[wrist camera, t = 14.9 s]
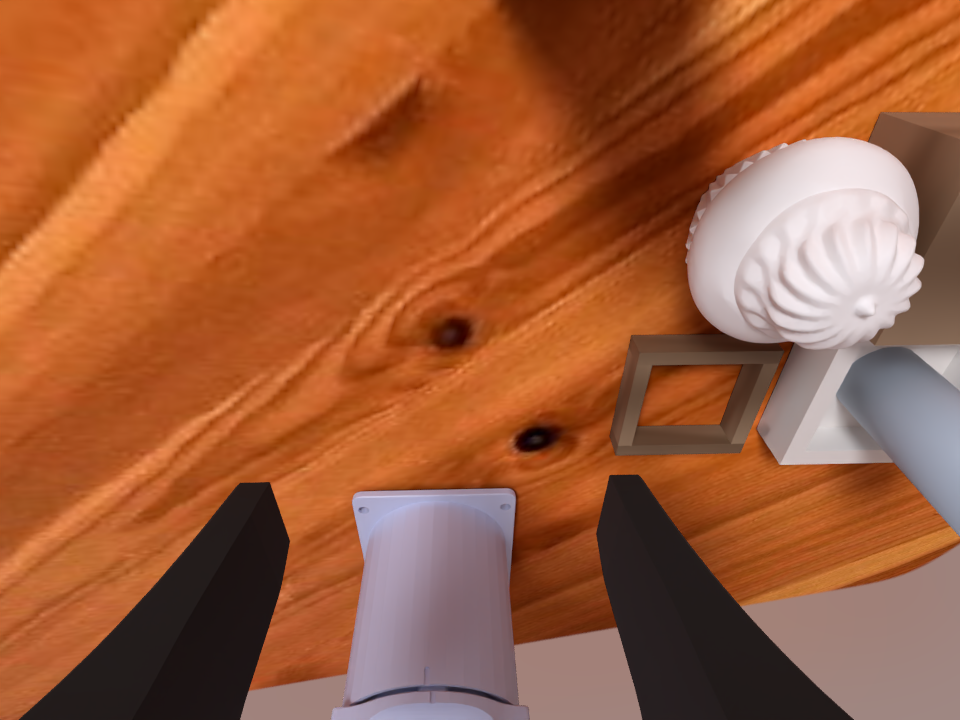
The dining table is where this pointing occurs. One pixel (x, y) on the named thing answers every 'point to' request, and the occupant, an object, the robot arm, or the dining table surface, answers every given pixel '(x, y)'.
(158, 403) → the dining table surface
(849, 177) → the muffin
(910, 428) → the dowel
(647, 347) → the socket
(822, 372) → the dish
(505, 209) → the dining table surface
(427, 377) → the dining table surface
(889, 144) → the block
